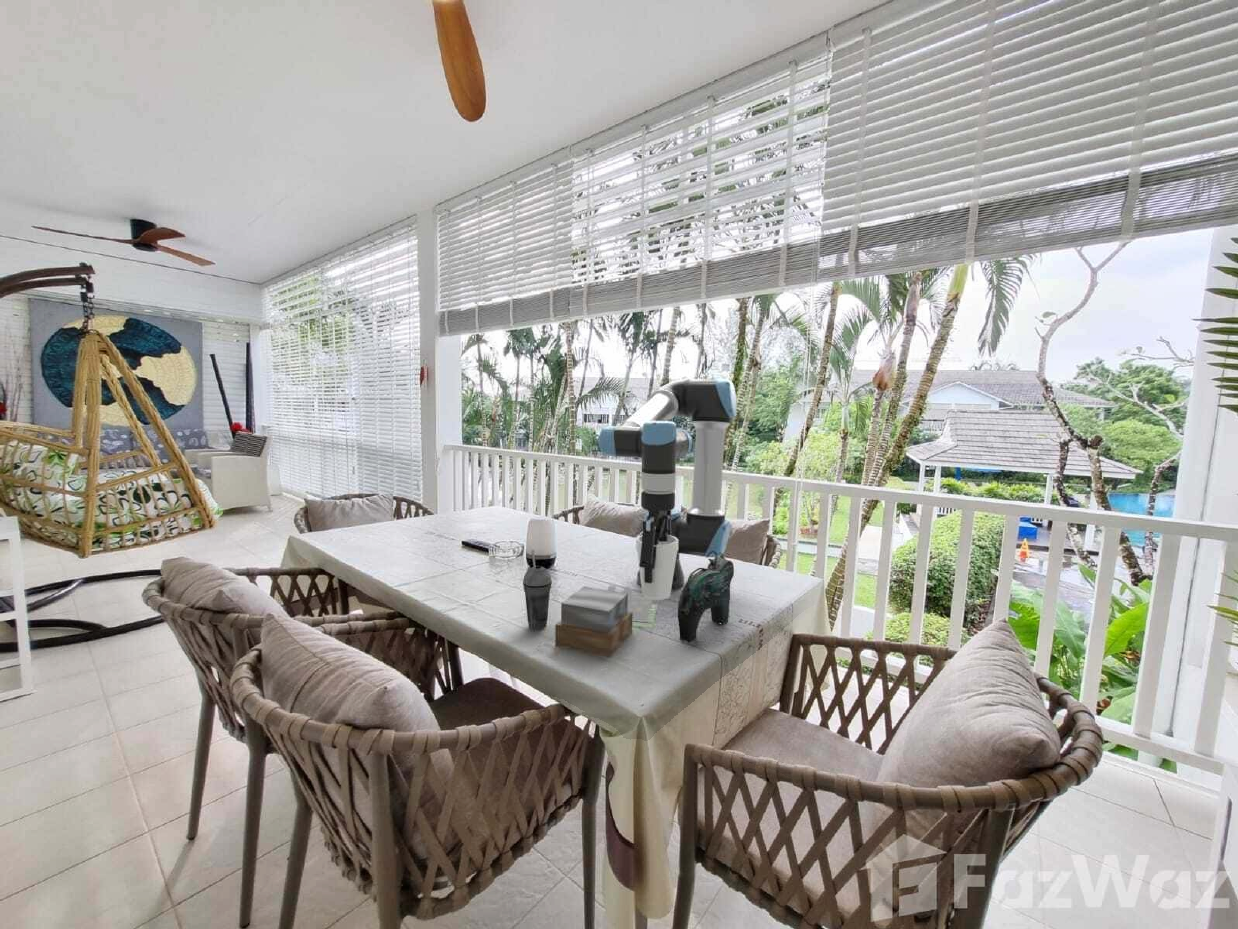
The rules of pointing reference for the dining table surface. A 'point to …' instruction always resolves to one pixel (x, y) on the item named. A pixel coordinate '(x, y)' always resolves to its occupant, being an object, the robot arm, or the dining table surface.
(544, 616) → the beverage cup
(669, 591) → the foam cup
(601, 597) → the block tower
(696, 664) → the dining table surface
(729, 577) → the green elephant statue
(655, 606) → the castle model
